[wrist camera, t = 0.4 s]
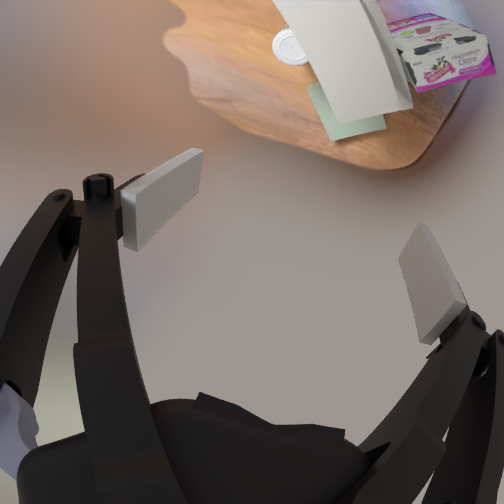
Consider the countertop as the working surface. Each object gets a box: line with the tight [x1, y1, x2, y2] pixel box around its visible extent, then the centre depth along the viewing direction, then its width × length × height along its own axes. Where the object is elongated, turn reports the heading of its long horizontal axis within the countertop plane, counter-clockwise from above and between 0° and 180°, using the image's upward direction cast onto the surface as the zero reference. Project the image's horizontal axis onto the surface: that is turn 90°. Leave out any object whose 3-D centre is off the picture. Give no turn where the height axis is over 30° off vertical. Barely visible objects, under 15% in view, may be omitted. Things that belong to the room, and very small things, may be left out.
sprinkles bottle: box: [272, 24, 309, 66], centre depth 25 cm, size 5×5×14 cm
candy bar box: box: [387, 13, 496, 93], centre depth 20 cm, size 11×5×16 cm, turn 128°
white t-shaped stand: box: [272, 0, 414, 124], centre depth 20 cm, size 12×7×22 cm, turn 30°
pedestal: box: [307, 81, 387, 141], centre depth 37 cm, size 10×10×3 cm
